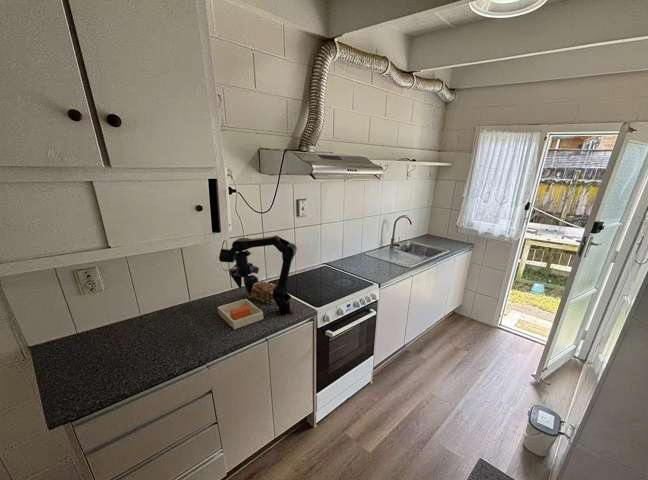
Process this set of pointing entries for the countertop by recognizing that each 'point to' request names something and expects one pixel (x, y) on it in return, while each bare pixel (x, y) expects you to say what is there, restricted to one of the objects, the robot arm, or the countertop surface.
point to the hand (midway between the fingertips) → (244, 290)
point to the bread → (262, 292)
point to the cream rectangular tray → (254, 317)
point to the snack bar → (240, 312)
